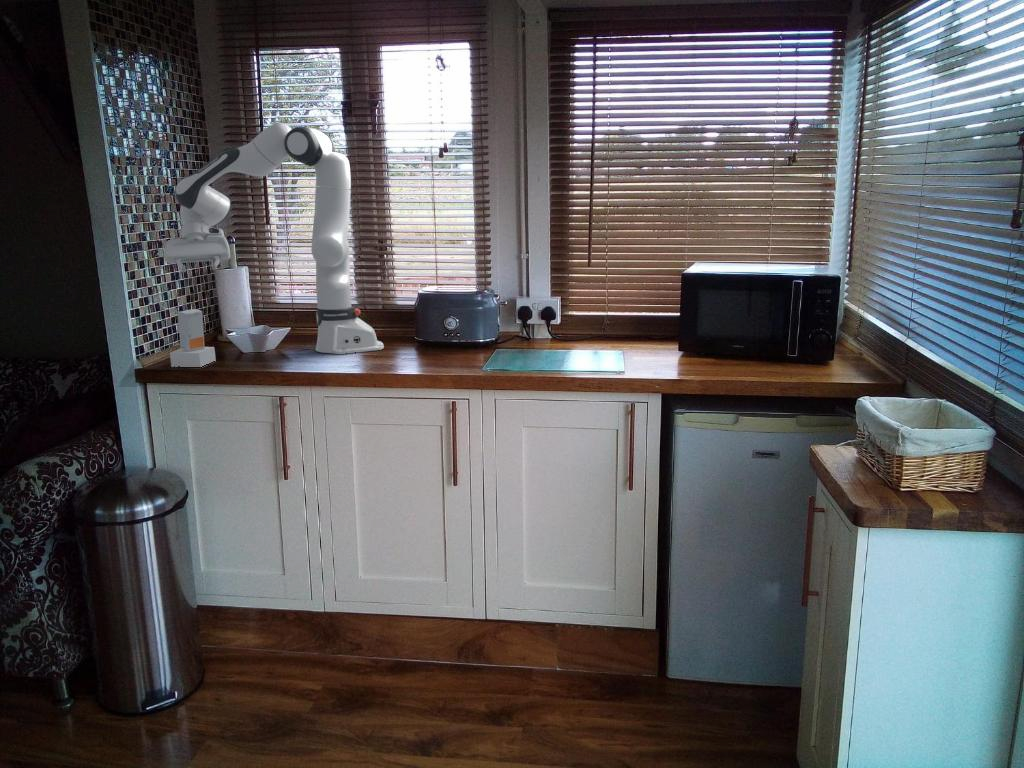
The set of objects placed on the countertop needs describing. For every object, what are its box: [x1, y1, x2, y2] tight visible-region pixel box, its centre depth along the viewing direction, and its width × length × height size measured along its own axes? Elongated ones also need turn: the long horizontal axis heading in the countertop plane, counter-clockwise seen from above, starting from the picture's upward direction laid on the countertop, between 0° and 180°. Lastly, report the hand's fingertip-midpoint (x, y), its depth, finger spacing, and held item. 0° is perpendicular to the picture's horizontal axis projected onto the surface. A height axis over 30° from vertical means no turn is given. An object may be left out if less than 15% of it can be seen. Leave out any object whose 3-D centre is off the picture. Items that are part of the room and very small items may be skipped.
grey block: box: [169, 346, 217, 368], centre depth 259 cm, size 10×10×5 cm
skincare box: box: [177, 308, 206, 351], centre depth 257 cm, size 6×4×12 cm
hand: (198, 269), depth 267 cm, fingers open, 8 cm apart
